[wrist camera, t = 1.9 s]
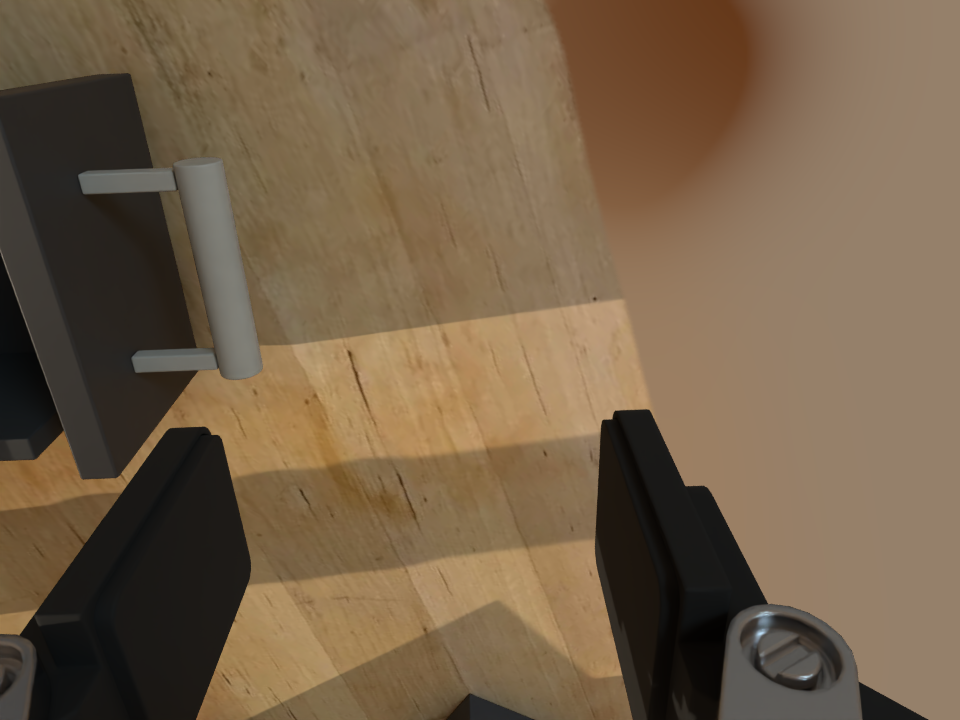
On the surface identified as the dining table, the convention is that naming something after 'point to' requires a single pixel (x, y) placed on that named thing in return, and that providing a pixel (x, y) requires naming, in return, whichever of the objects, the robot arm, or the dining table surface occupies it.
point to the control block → (483, 711)
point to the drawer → (105, 275)
